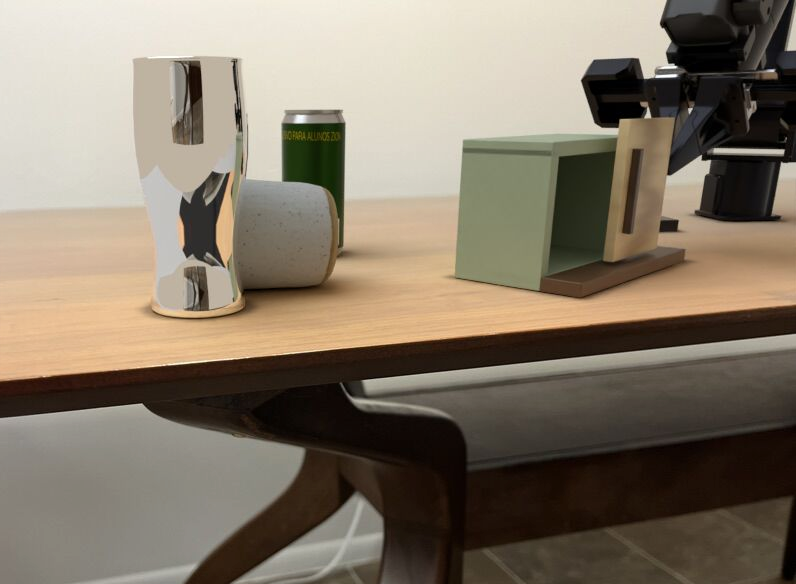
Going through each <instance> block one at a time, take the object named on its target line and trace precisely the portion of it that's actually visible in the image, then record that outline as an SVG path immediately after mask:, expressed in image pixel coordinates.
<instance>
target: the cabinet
mask: <svg viewBox="0 0 796 584" xmlns="http://www.w3.org/2000/svg"><path fill="white" fill-rule="evenodd" d="M617 139H618V134H598V133H597V134H594V133H593V134H589V133H588V134H587V133H547V134H546V133H545V134H530V135H528V134H527V135H513V136H496V137H481V138H479V137H478V138H464V139H462V149H461V150H462V151H461V164H460V165H461V166H460V181H459V182H460V183H459V198H458V200H459V201H458V216H457V231H456V247H455V263H454V265H455V266H454V278H455V279H462V280H468V281H474V282H480V283H486V284H493V285H500V286H505V287H511V288H517V289H524V290H529V291H536V292H542V293H548V294H554V295H561V296H566V297H572V298H579V299H581V298H584V297H586V296H588V295H592V294H595V293H597V292H600V291H602V290H603V291H604V290H606V289H608V288H612V287H614V286H617V285H620V284H623V283H626V282H628V281H629V282H630V281H631V280H635V279H637V278H641V277H642V276H645V275H649V274H651V273H654V272H656V271H660V270H662V269H663V270H664V268H668V267H671V266H674V265H677V264H680V263H683V262H685V258H686V251H687V250H686V249H685V248H679V247H678V248H677V247H671V246H670V247H669V246H660V245H657V249H654V250H651V251H648V252H644V253H641V254H638V255H635V256H631V257H628V258H625V259H622V260H619V261H615V262H607V261H603V256H604V247H605V239H606V231H607V222H608V214H609V206H610V197H611V189H612V181H613V172H614V164H615V156H616V147H617Z"/></svg>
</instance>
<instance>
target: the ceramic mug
mask: <svg viewBox="0 0 796 584" xmlns="http://www.w3.org/2000/svg"><path fill="white" fill-rule="evenodd" d="M337 250H338V215H337V209H336V204H335V201H334V198H333V196H332V195H331V193H330V192H329V191H328V190H327V189H326V188H323V187H321V186H317V185H313V184H308V183H301V182H282V181H277V180H265V179H264V180H263V179H262V180H261V179H250V178H249V179H248V178H246V182H245V189H244V196H243V203H242V210H241V217H240V225H239V233H238V264H239V270H240V276H241V281H242V285H243V290H261V289H275V288H277V289H278V288H281V289H282V288H304V287H311V286H312V287H313V286H317V285H321V284H323V283H324V282H326V281H328V280H329V278H330V277H331V275H332V274H333V272H334V269H335V266H336V262H337V257H338V256H337Z"/></svg>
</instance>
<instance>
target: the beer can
mask: <svg viewBox="0 0 796 584" xmlns="http://www.w3.org/2000/svg"><path fill="white" fill-rule="evenodd" d="M343 113H344V109H284V110H283V114H284V116H283V118H282V120H281V125H280V127H281V128H280V129H281V134H280V135H281V136H280V137H281V182H301V183H308V184H313V185H317V186H321V187H323V188H326V189H327V190H328V191H329V192H330V193H331V195H332V196H333V198H334V201H335V204H336V209H337V215H338V250H337V257H339V256H341V253H342V250H343V249H344V246H345V244H344V243H345V192H346V191H345V189H346V188H345V187H346V186H345V185H346V182H345V181H346V131H347V130H346V129H347V127H346V125H347V124H346V123H347V122H346V120H345V118H344V116H343Z"/></svg>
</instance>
